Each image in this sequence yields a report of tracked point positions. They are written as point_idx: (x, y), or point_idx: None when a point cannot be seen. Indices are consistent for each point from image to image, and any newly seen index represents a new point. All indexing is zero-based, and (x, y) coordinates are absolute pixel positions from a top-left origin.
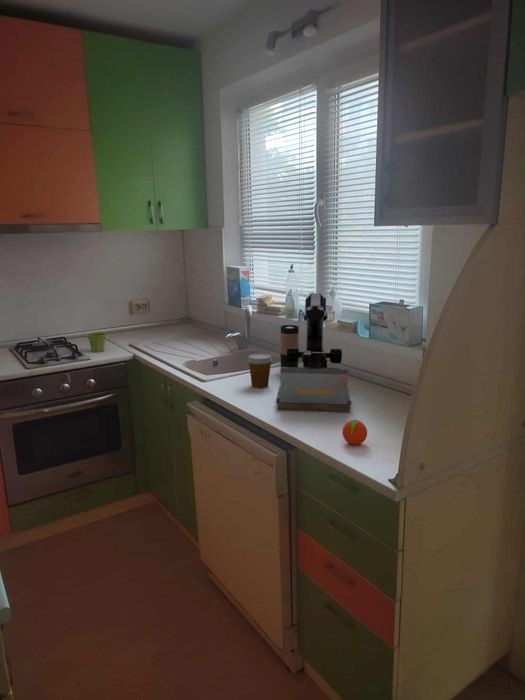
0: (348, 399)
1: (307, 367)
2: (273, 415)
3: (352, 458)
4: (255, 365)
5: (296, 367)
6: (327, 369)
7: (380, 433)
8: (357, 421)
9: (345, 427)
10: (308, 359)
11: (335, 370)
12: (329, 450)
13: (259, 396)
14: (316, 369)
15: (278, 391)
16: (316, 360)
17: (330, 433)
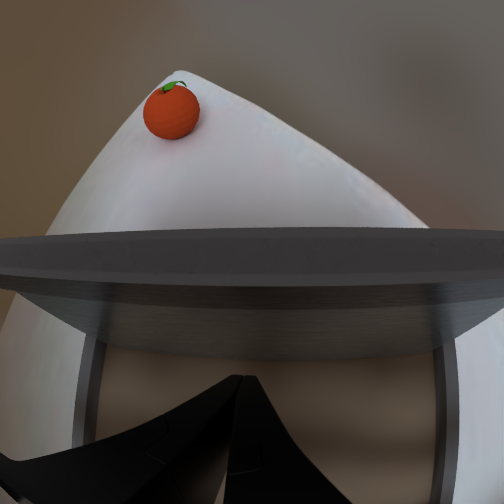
0: (91, 347)
1: (323, 284)
2: None
3: (200, 95)
4: None
5: (455, 269)
6: (95, 233)
7: (101, 187)
8: (157, 94)
9: (190, 92)
10: (320, 490)
11: (47, 241)
12: (237, 107)
13: (493, 486)
14: (204, 232)
15: (456, 451)
16: (148, 463)
17: (221, 167)
